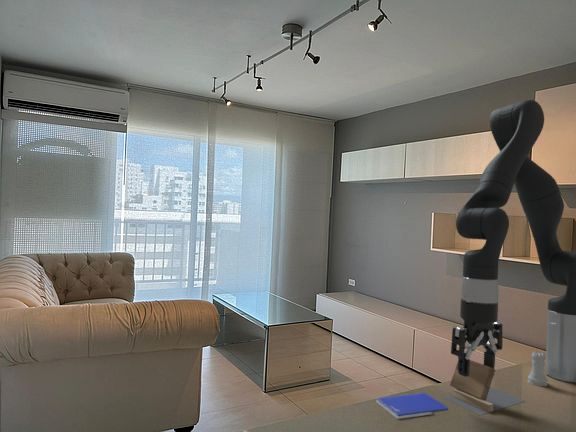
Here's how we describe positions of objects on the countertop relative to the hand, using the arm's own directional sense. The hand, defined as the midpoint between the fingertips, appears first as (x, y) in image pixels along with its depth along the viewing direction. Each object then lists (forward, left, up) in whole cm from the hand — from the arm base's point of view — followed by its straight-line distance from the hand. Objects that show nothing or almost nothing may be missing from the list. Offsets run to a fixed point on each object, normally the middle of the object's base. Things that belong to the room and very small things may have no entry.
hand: (476, 372), depth 96 cm
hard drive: (+14, -5, -8) cm, 17 cm away
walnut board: (0, -2, -5) cm, 6 cm away
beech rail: (+1, 0, -7) cm, 7 cm away
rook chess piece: (-25, -1, -7) cm, 26 cm away
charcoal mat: (-3, 0, -7) cm, 8 cm away
